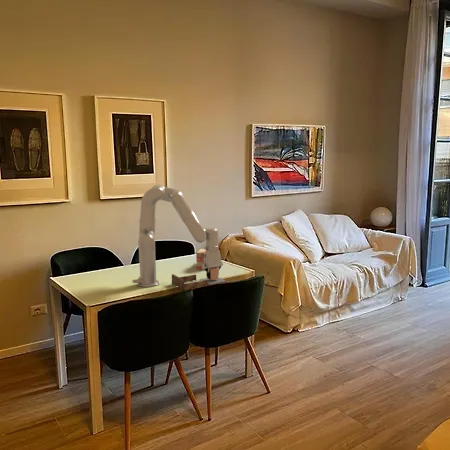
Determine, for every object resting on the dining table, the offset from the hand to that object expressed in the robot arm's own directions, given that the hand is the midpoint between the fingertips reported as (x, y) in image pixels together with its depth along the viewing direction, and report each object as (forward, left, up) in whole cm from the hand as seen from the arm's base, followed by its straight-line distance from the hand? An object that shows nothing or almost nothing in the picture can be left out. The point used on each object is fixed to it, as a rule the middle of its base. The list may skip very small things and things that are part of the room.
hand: (212, 277), depth 283 cm
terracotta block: (0, 0, -1) cm, 1 cm away
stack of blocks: (+13, +34, -3) cm, 36 cm away
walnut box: (-16, 0, -2) cm, 16 cm away
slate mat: (0, 0, -2) cm, 2 cm away
